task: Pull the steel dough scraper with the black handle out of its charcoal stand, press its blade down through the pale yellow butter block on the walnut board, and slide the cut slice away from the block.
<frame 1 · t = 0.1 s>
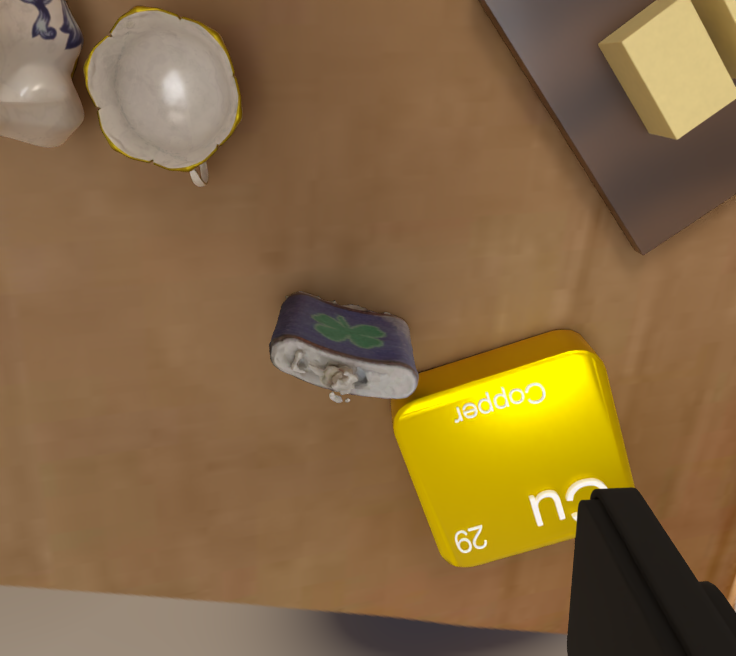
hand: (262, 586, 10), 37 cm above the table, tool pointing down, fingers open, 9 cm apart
butter slice: (652, 69, 41), point 1 cm above the table, touching cutting board
element tile: (505, 435, 52), on the table
flask: (345, 319, 48), on the table
cutting board: (684, 38, 42), on the table
chinaware: (45, 4, 41), on the table
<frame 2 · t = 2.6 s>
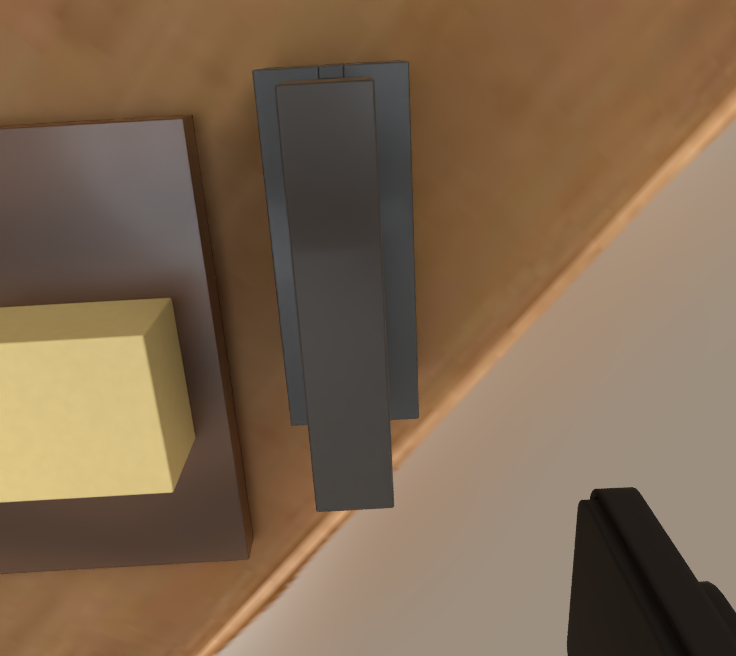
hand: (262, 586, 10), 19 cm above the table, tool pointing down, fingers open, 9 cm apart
scraper stand: (345, 234, 28), on the table
cutting board: (20, 365, 29), on the table
butter: (100, 375, 28), point 1 cm above the table, touching cutting board
scraper: (343, 270, 23), in the scraper stand
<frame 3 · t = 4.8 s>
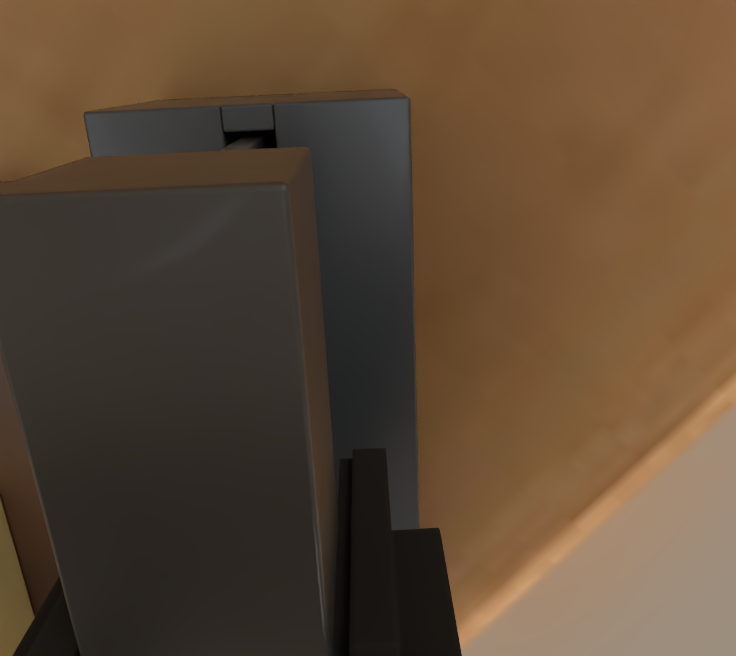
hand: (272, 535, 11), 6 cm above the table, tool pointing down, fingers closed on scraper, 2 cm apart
scraper stand: (301, 378, 16), on the table
scraper: (278, 501, 12), in the scraper stand, touching gripper
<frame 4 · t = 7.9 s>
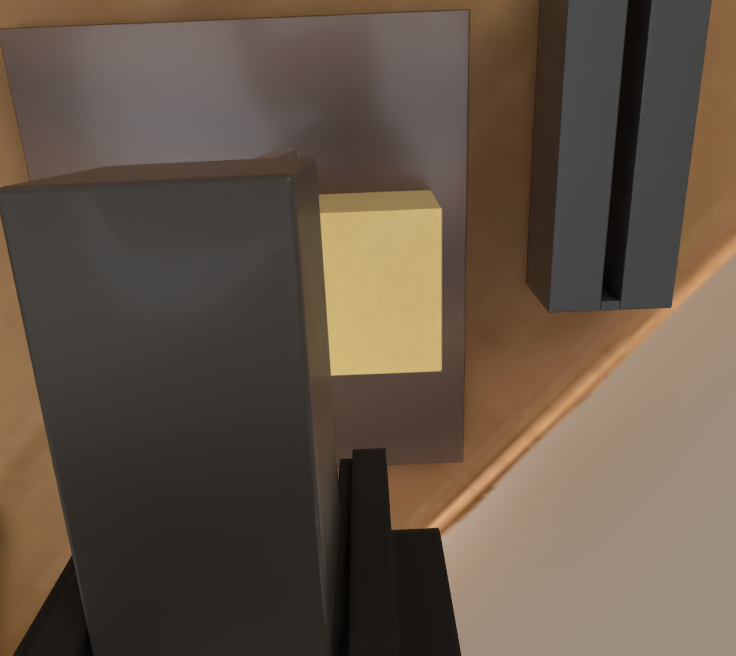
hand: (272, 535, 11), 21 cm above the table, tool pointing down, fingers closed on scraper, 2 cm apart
scraper stand: (591, 135, 29), on the table
cutting board: (263, 262, 31), on the table
butter: (350, 268, 29), point 1 cm above the table, touching cutting board
scraper: (283, 511, 12), point 20 cm above the table, touching gripper
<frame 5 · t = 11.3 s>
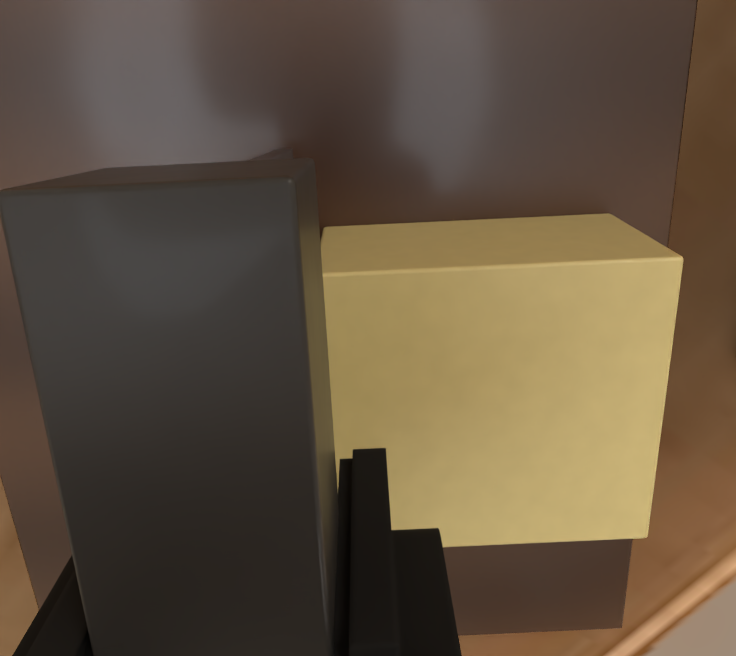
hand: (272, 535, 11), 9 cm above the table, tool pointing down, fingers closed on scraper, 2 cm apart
cutting board: (315, 328, 19), on the table
butter: (465, 342, 18), point 1 cm above the table, touching cutting board
scraper: (281, 512, 12), point 8 cm above the table, touching gripper
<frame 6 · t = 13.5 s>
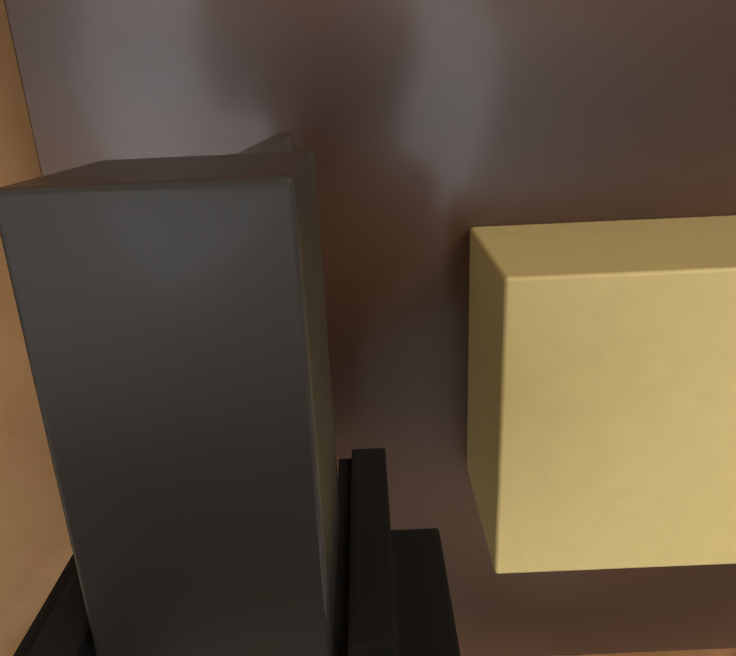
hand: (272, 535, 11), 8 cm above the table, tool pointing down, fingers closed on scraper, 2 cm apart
cutting board: (440, 334, 18), on the table
butter: (609, 349, 17), point 1 cm above the table, touching cutting board
scraper: (281, 501, 12), point 7 cm above the table, touching butter slice, cutting board, gripper
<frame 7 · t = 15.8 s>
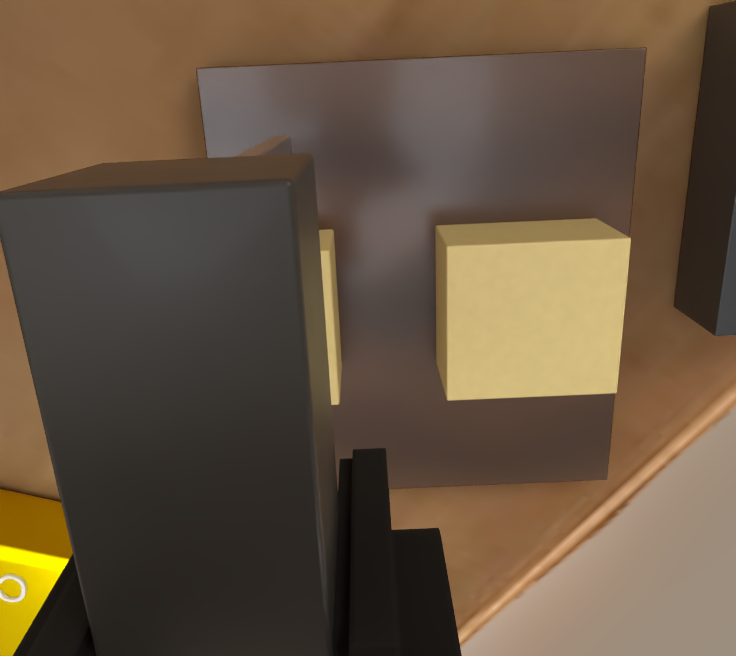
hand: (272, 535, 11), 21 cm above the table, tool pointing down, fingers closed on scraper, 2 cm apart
butter slice: (293, 302, 30), point 1 cm above the table, touching cutting board
cutting board: (421, 287, 32), on the table
butter: (513, 293, 30), point 1 cm above the table, touching cutting board
scraper: (281, 502, 12), point 20 cm above the table, touching gripper
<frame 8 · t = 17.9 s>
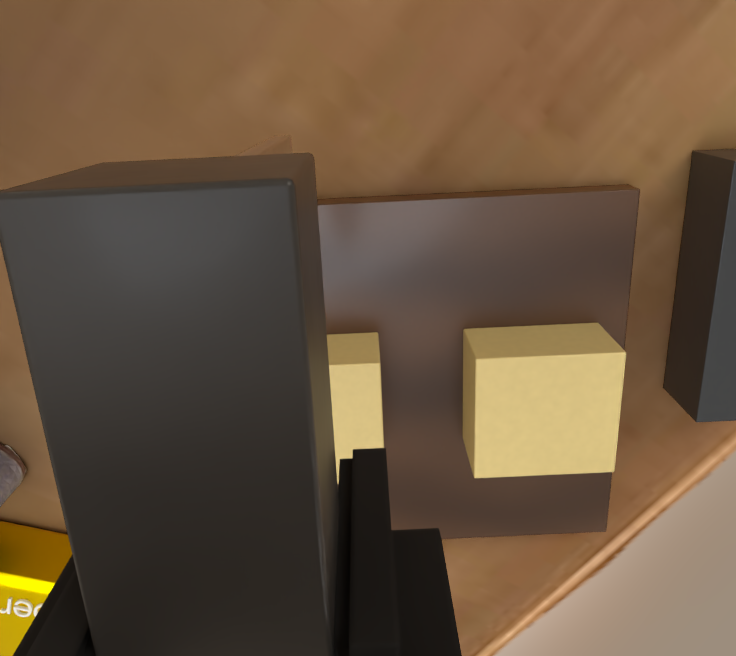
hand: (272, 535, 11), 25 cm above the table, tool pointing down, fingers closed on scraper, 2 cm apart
scraper stand: (724, 274, 36), on the table
butter slice: (343, 389, 36), point 1 cm above the table, touching cutting board
element tile: (80, 626, 44), on the table
cutting board: (449, 373, 37), on the table
butter: (528, 381, 36), point 1 cm above the table, touching cutting board
scraper: (281, 503, 12), point 24 cm above the table, touching gripper
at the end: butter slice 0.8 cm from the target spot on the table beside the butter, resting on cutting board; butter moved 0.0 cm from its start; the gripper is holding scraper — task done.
